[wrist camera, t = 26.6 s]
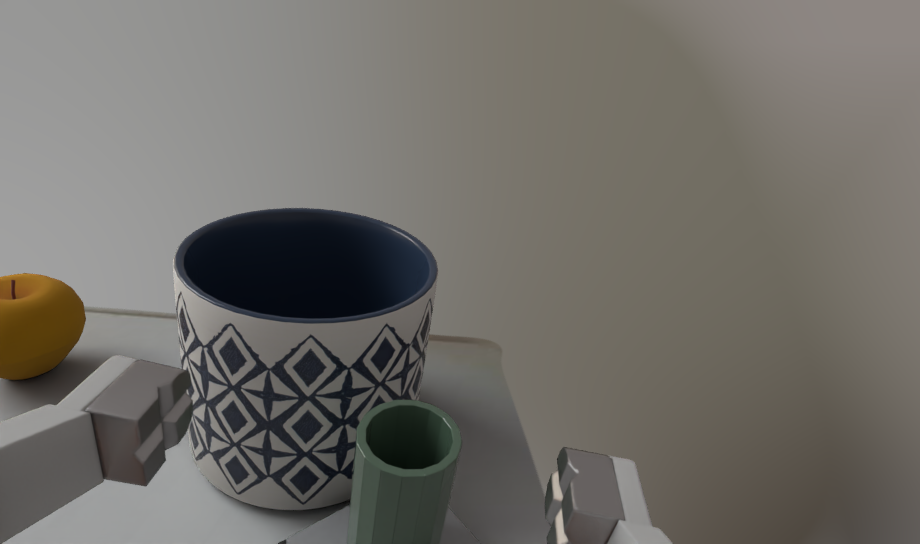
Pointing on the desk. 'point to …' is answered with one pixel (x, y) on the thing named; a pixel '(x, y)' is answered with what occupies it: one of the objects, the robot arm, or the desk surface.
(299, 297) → the planter
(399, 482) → the cup
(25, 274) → the apple
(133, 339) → the desk surface
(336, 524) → the scale
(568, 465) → the robot arm
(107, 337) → the desk surface
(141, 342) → the desk surface
